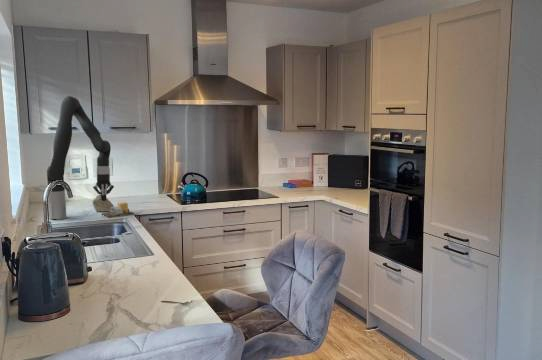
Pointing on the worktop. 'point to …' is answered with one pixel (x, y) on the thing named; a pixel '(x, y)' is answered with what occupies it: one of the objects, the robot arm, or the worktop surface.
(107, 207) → the fossil tooth
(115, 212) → the keeper
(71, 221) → the worktop surface
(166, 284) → the worktop surface
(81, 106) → the robot arm
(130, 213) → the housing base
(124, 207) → the jaw block
